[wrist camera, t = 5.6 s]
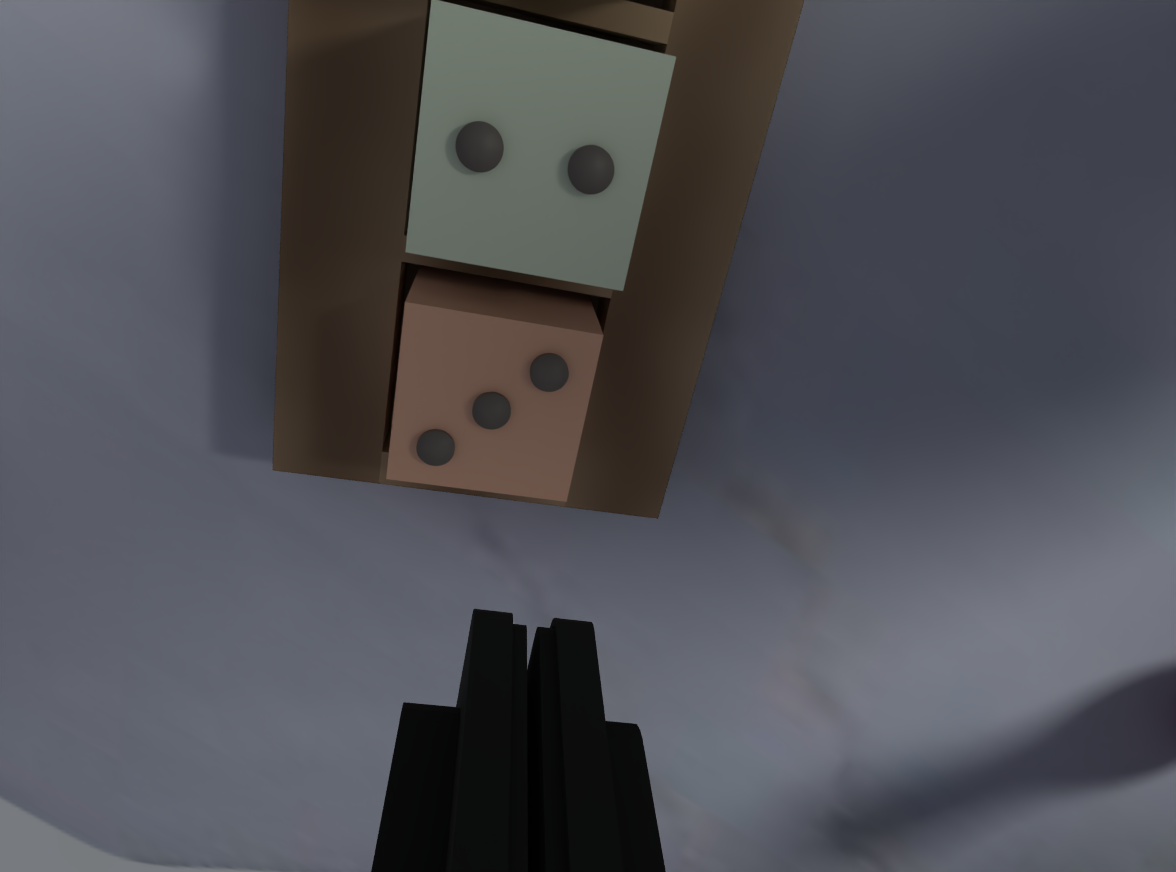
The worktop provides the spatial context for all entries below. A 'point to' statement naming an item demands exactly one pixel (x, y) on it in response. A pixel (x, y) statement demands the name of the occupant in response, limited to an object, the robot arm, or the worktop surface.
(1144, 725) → the worktop surface
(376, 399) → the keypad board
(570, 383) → the three-pip tile
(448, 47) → the two-pip tile
